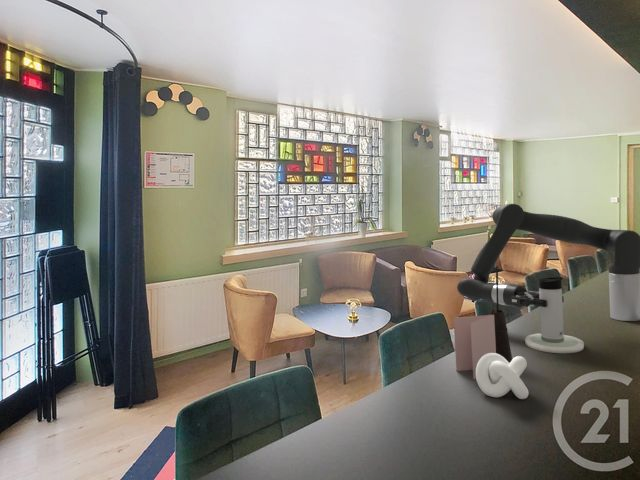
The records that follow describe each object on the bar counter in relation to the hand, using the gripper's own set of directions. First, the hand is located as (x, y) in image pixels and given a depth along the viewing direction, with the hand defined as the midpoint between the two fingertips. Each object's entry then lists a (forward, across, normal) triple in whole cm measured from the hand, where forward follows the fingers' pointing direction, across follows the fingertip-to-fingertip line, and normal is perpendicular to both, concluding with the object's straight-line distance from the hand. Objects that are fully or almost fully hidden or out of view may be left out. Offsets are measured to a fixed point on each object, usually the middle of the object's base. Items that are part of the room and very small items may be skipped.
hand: (555, 301), depth 125 cm
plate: (-1, 0, +14) cm, 14 cm away
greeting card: (0, -35, +14) cm, 38 cm away
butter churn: (-3, -22, +14) cm, 27 cm away
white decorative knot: (+13, -42, +14) cm, 46 cm away
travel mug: (-1, 0, +13) cm, 13 cm away
